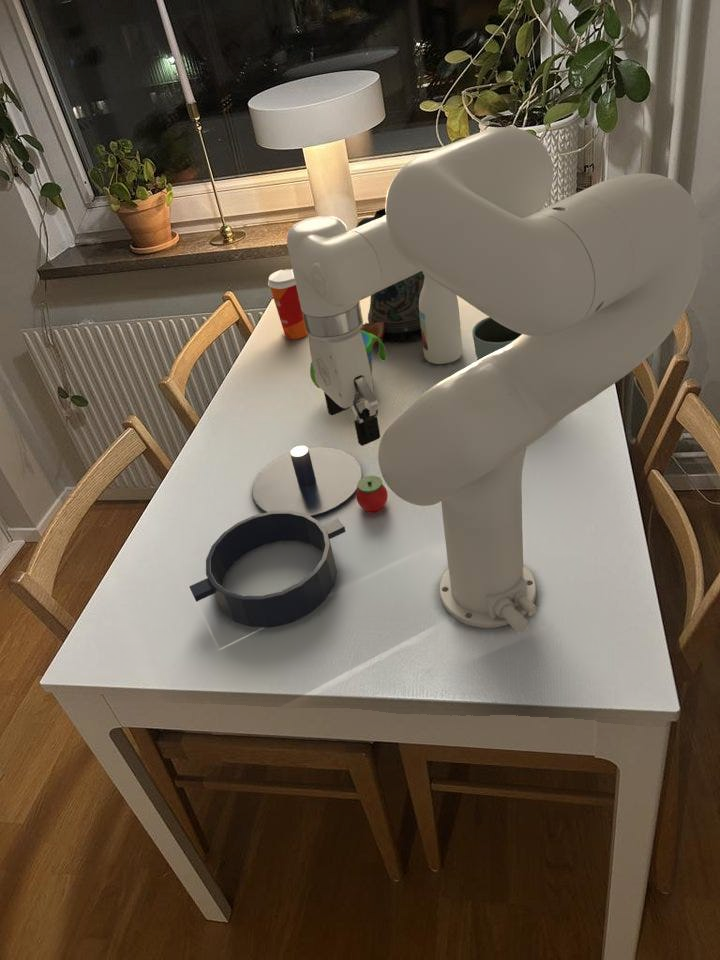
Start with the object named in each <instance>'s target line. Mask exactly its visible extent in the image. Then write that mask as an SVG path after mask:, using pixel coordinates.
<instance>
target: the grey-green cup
mask: <svg viewBox="0 0 720 960" xmlns="http://www.w3.org/2000/svg"><path fill="white" fill-rule="evenodd" d="M471 332H472V339H473V346H474V353H475V357H476V361H478V360H480V359H481V358H483V357H485V356H487V355H489V354H491V353H493V352H495V351H497V350H499V349H501V348H503V347H505V346H507V345H509V344H510V343H512V342H513V341H514V340H516V339H517V338H518V337H519V336H521V335H522V334H520V333H517V332H515V331H512V330H511V329H509V328H507V327H505V326H503V325H501V324H499V323H498V322H496V321H495V320H493V319H492V318H490V317H489V316H487V317H486V318H483V319H481V320H480V321H478V322H477V323H475V325H474V326H473V328H472V331H471Z"/></svg>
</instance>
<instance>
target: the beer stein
mask: <svg viewBox="0 0 720 960" xmlns="http://www.w3.org/2000/svg"><path fill="white" fill-rule="evenodd" d="M383 216H386V212H385V208H381V209H378V210H376V212H375V214H374V216H371V217H366V218H365V217H364V218H362V219H361V220H360V221H358V223H357V224H356V227H355V228H357V227H360V226H362V225H364V224H367V223H369V222H371V221H374V220H376V219H379V218H381V217H383ZM424 279H425V275H424V274H423V272H422V271H420V272H418V273H416V274H414V275H412V276H410V277H408V278H406V279H404V280H402V281H399V282H397V283H395V284H393V285H391V286H389V287H387V288H385V289H383V290H381V291H378V292H376V293H375V294H373V295H371V296H370V303H369V309H368V314H367V323H376V322H384V323H385V333H384V336H383V338H382V339H381V341H382V342H387V343H399V344H400V343H401V344H402V343H403V344H404V343H411V342H416V341H419V340H422V334H421V325H420V315H419V297H420V293H421V290H422V288H423V284H424Z"/></svg>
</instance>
